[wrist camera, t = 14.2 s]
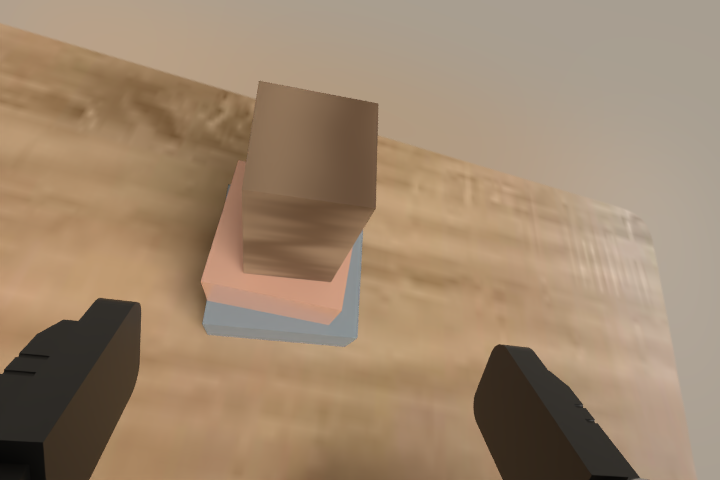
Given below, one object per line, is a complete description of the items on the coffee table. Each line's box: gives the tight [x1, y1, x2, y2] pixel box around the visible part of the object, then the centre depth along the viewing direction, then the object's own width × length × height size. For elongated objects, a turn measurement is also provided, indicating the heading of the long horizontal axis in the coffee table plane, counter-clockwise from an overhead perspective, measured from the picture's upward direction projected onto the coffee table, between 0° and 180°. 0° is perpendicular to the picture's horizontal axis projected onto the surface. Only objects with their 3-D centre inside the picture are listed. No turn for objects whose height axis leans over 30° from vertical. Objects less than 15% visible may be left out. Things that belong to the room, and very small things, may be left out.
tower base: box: [202, 184, 363, 347], centre depth 33 cm, size 10×10×4 cm
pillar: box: [242, 81, 378, 282], centre depth 22 cm, size 5×5×10 cm
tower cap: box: [201, 160, 353, 325], centre depth 29 cm, size 8×8×4 cm
